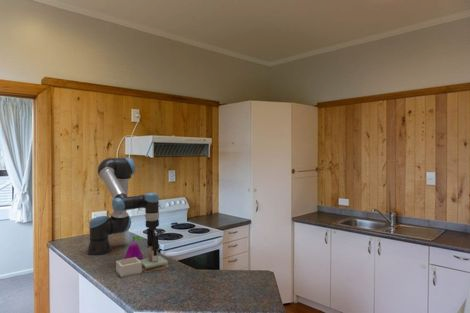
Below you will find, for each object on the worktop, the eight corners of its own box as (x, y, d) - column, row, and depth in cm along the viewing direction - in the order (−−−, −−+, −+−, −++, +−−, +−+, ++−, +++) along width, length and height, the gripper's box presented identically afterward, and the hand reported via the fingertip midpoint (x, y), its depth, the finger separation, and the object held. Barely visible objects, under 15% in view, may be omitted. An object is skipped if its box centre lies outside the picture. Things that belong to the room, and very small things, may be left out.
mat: (137, 266, 187) (137, 264, 187) (160, 261, 195) (160, 260, 195) (145, 273, 175) (145, 272, 175) (169, 267, 183) (169, 266, 183)
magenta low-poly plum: (137, 263, 191) (136, 238, 191) (120, 263, 193) (120, 238, 193) (146, 257, 202) (145, 234, 202) (130, 257, 204) (129, 233, 204)
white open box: (116, 271, 179) (115, 260, 179) (135, 267, 185) (135, 256, 185) (121, 277, 170) (120, 266, 170) (141, 272, 176) (141, 262, 176)
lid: (138, 261, 187) (138, 246, 187) (160, 257, 194) (159, 242, 194) (145, 268, 176) (145, 251, 176) (168, 263, 183) (167, 247, 183)
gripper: (141, 218, 190) (142, 256, 190) (151, 223, 175) (152, 265, 175) (153, 216, 194) (154, 254, 195) (164, 221, 179) (165, 262, 180)
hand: (153, 259), depth 185 cm, fingers closed on lid, 5 cm apart
